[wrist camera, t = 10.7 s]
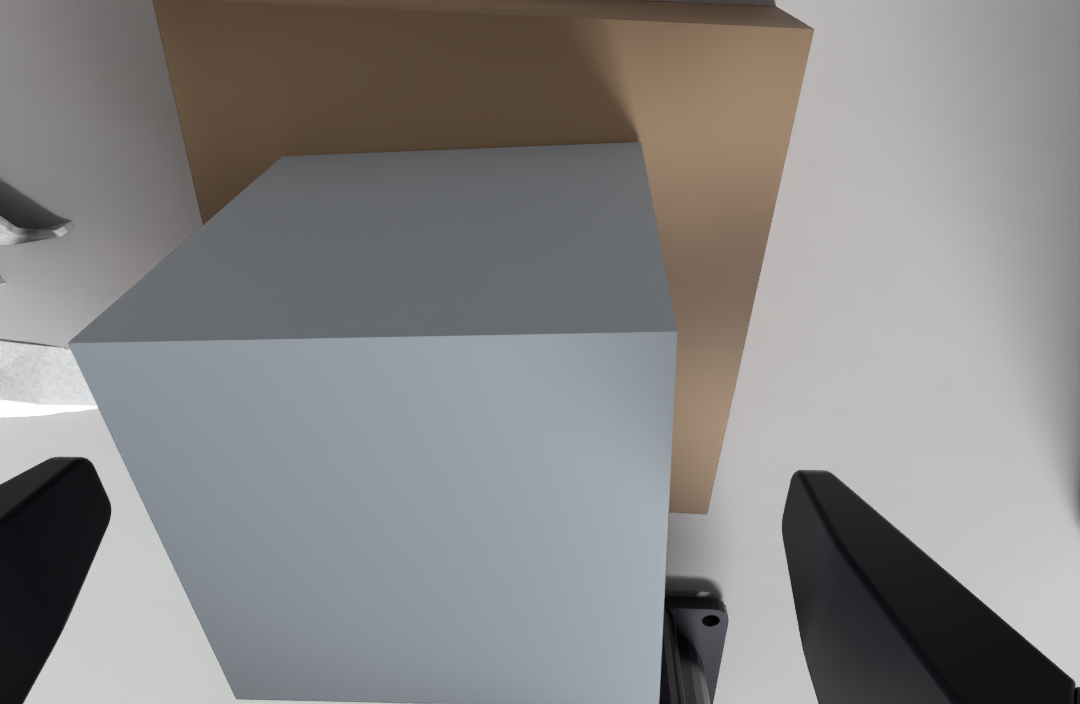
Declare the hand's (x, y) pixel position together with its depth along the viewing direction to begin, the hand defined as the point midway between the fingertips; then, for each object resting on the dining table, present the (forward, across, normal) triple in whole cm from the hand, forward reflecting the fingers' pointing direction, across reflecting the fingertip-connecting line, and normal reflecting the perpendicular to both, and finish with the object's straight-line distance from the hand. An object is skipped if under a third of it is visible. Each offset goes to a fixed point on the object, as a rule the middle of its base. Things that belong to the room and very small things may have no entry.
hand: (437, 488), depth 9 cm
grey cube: (+5, 0, 0) cm, 5 cm away
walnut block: (+8, 0, 0) cm, 8 cm away
